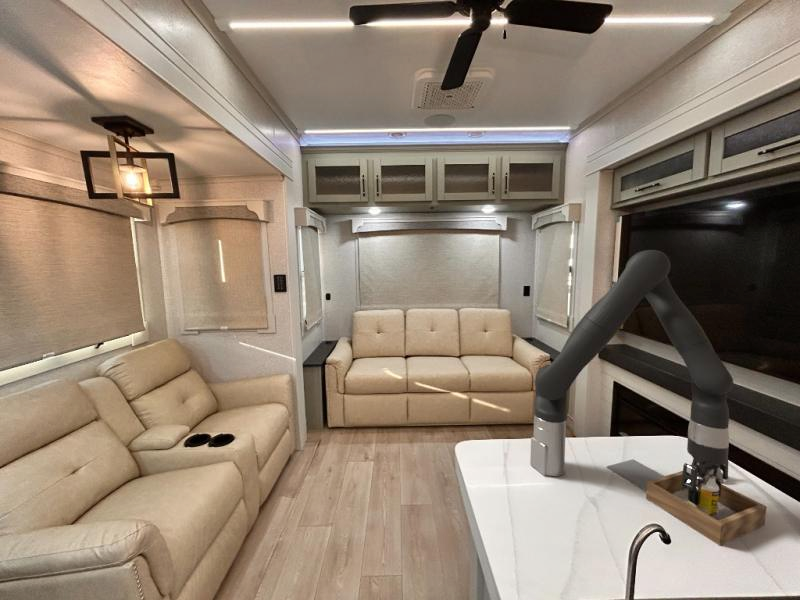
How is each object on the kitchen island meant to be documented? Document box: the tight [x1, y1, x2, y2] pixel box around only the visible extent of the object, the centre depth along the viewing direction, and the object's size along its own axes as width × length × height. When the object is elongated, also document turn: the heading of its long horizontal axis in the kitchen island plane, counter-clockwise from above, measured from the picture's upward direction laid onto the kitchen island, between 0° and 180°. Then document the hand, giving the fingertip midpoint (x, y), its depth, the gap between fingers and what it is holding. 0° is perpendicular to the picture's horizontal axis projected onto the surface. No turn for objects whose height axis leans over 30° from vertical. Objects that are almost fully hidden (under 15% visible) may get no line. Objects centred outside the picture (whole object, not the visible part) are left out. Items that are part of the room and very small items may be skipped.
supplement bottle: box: [687, 476, 719, 519], centre depth 82 cm, size 6×6×10 cm
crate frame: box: [645, 470, 767, 546], centre depth 82 cm, size 18×16×5 cm
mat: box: [606, 458, 665, 492], centre depth 98 cm, size 12×12×1 cm
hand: (704, 498), depth 82 cm, fingers open, 8 cm apart
